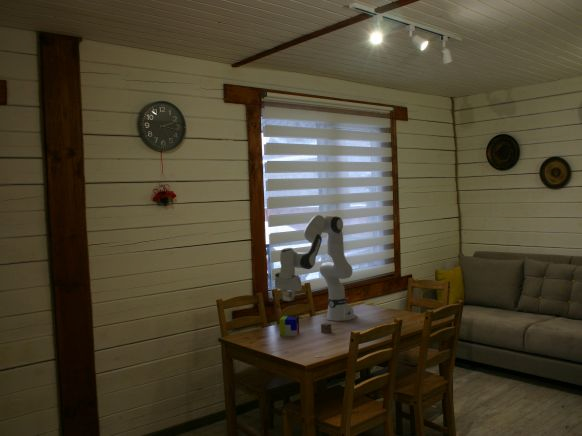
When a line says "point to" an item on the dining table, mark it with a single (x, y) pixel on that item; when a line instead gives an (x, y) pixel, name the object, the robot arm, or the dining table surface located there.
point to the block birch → (287, 296)
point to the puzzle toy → (289, 326)
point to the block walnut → (326, 327)
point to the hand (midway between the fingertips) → (288, 297)
